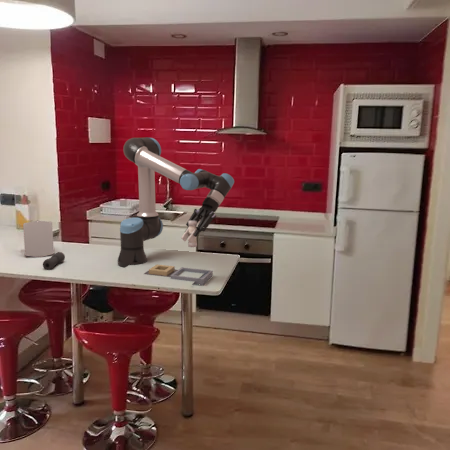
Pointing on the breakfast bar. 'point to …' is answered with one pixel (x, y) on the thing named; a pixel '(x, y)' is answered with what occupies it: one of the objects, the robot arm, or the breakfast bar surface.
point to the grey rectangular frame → (201, 280)
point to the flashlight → (53, 260)
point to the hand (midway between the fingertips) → (186, 240)
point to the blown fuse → (192, 226)
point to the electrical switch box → (38, 238)
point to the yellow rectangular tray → (161, 270)
